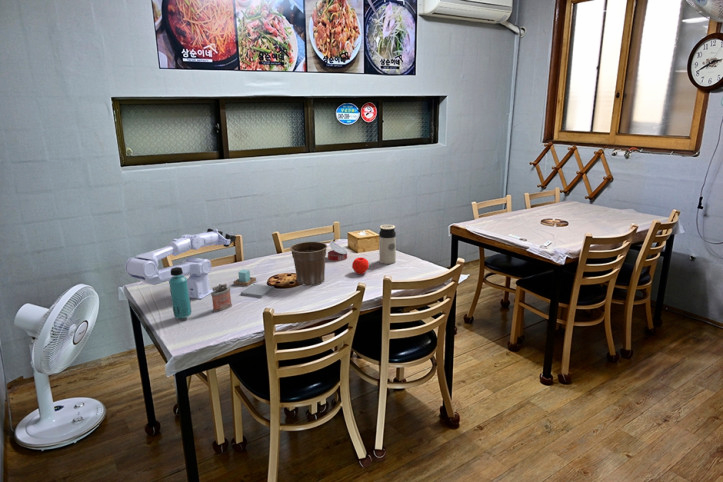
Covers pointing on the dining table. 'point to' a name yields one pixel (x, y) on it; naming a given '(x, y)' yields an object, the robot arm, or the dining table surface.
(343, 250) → the canned food
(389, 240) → the travel mug
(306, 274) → the plant pot
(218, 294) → the crushed red tin
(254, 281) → the collar
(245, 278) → the peg
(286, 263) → the dining table surface
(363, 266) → the apple
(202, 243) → the robot arm
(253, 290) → the mat
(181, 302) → the beverage bottle
